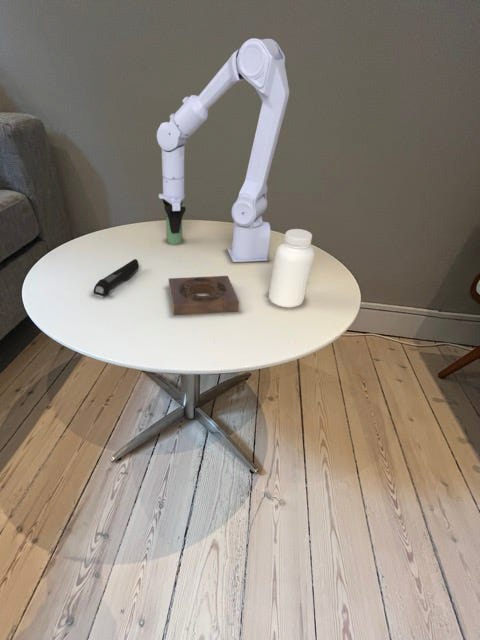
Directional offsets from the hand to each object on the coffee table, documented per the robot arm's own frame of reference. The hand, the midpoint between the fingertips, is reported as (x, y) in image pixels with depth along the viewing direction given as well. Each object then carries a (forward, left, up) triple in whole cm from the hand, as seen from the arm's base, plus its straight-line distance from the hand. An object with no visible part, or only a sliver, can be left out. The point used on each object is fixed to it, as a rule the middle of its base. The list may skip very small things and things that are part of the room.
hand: (174, 229), depth 110 cm
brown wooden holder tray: (-3, +34, -3) cm, 34 cm away
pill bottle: (-22, +36, -4) cm, 42 cm away
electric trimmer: (+16, +24, -4) cm, 29 cm away
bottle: (0, 0, -3) cm, 3 cm away
